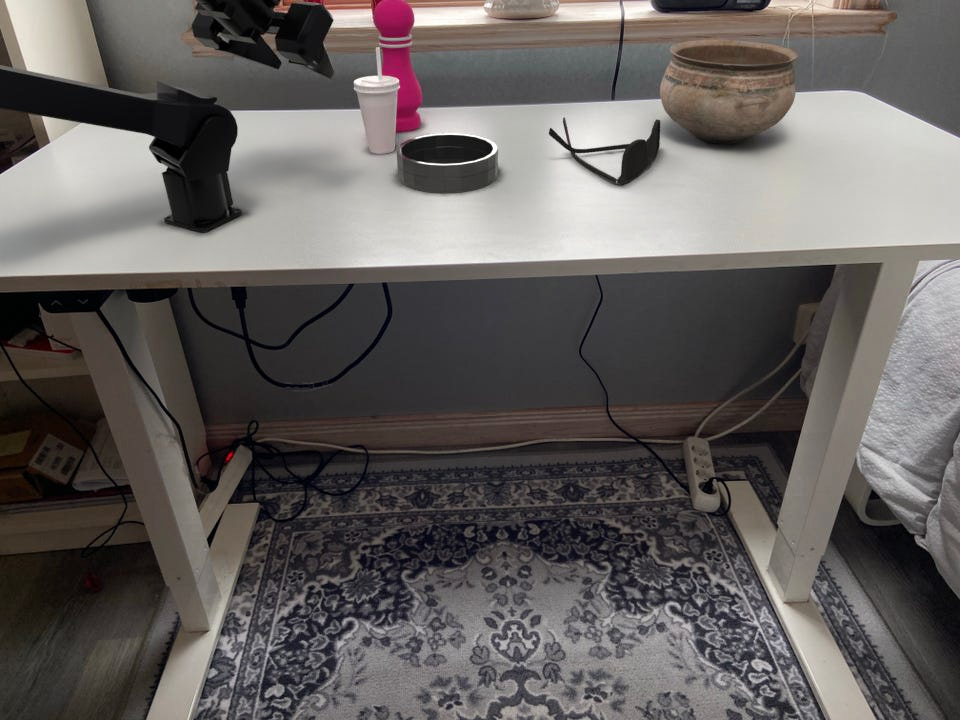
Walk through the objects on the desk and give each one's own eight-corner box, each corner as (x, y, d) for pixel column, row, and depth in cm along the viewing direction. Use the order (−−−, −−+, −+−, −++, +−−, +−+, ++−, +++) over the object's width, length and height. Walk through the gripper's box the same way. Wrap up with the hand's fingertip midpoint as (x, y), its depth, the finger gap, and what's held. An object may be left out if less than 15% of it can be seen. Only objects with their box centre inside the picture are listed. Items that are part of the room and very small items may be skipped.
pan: (466, 199, 93) (466, 171, 91) (378, 182, 98) (376, 155, 96) (513, 167, 102) (514, 141, 100) (431, 153, 108) (430, 128, 106)
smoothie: (400, 157, 106) (392, 52, 99) (355, 156, 107) (345, 52, 99) (407, 143, 112) (400, 42, 104) (364, 142, 112) (355, 42, 105)
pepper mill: (432, 124, 120) (427, -15, 109) (405, 135, 115) (396, -9, 104) (396, 117, 123) (387, -18, 112) (368, 128, 118) (356, -12, 107)
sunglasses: (574, 137, 114) (576, 103, 111) (667, 150, 108) (672, 115, 105) (528, 171, 101) (529, 134, 99) (631, 188, 96) (635, 149, 93)
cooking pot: (818, 161, 104) (841, 69, 97) (685, 167, 102) (699, 73, 95) (745, 112, 124) (760, 33, 118) (634, 116, 123) (642, 36, 116)
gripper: (309, -83, 75) (389, 20, 89) (191, -88, 84) (281, 7, 98) (261, 13, 74) (350, 103, 88) (147, -2, 83) (244, 82, 97)
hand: (305, 70), depth 92 cm, fingers open, 9 cm apart
